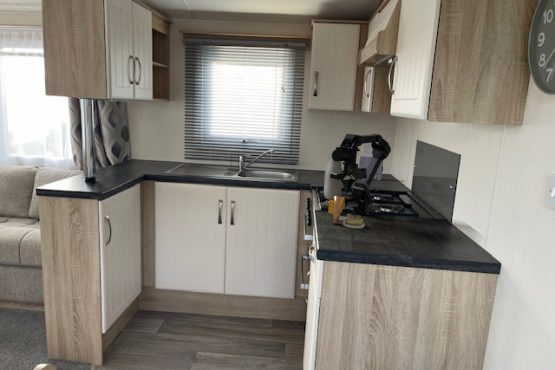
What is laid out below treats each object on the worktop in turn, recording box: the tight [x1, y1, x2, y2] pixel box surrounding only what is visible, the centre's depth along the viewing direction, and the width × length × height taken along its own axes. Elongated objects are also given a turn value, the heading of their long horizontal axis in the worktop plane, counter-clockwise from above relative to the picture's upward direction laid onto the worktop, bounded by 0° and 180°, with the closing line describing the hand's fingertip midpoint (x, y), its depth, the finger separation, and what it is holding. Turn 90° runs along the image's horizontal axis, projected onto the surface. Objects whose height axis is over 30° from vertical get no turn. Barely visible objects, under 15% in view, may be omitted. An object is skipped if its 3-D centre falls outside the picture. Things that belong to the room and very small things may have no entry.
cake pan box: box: [357, 155, 384, 181], centre depth 306 cm, size 19×5×18 cm, turn 84°
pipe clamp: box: [328, 197, 346, 215], centre depth 203 cm, size 12×4×6 cm, turn 143°
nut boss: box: [342, 220, 366, 230], centre depth 180 cm, size 10×10×1 cm
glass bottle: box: [323, 150, 343, 201], centre depth 227 cm, size 10×10×28 cm
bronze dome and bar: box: [331, 195, 364, 226], centre depth 180 cm, size 14×8×12 cm, turn 83°
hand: (347, 192), depth 192 cm, fingers closed
